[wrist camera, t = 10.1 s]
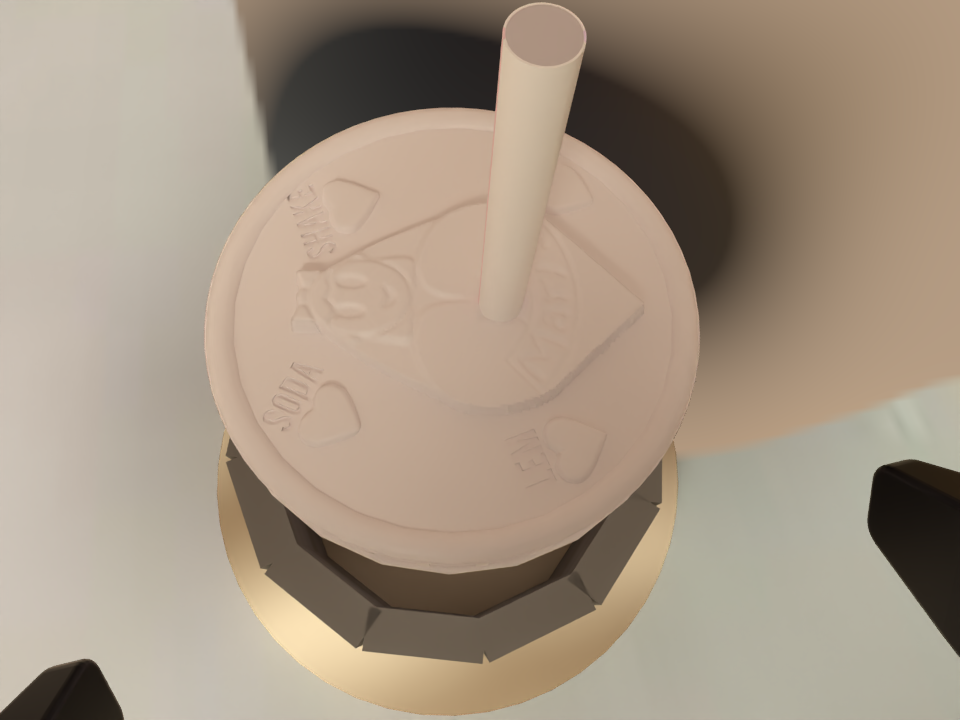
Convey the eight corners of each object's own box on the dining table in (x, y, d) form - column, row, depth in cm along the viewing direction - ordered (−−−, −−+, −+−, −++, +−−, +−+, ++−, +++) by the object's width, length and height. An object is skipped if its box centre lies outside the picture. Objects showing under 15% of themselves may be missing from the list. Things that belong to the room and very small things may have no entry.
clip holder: (748, 581, 18) (841, 574, 13) (317, 802, 16) (266, 876, 11) (548, 220, 21) (572, 125, 17) (176, 360, 19) (98, 291, 15)
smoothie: (579, 587, 17) (1080, 547, 3) (319, 584, 16) (-233, 533, 3) (570, 345, 19) (853, -255, 6) (339, 340, 18) (61, -298, 5)
